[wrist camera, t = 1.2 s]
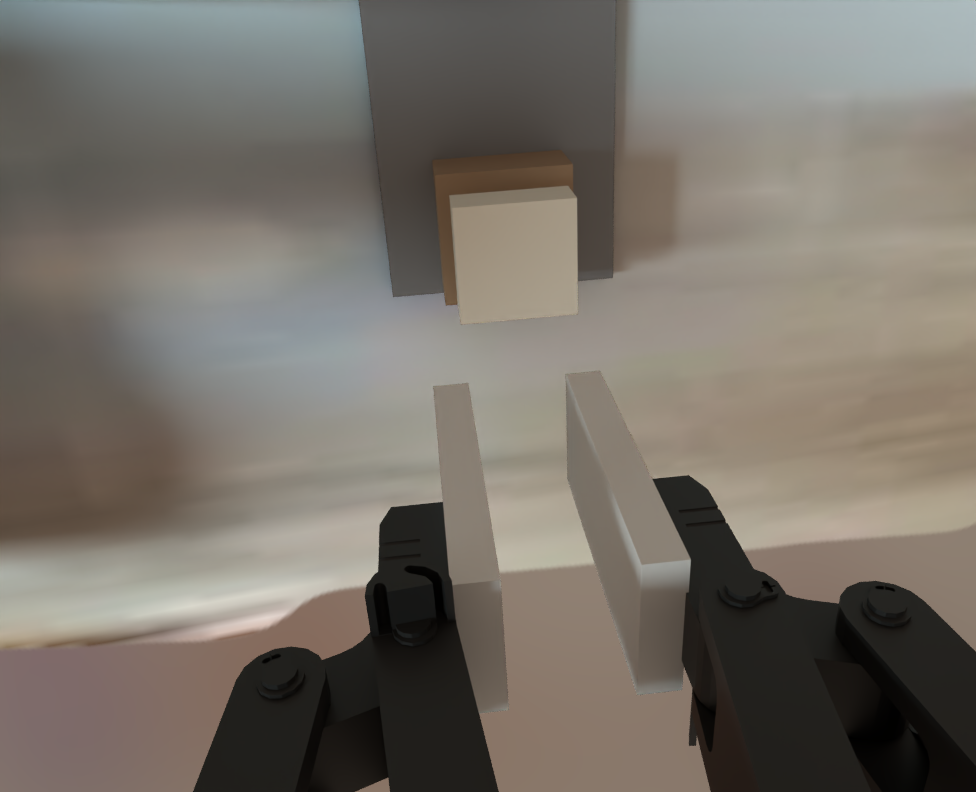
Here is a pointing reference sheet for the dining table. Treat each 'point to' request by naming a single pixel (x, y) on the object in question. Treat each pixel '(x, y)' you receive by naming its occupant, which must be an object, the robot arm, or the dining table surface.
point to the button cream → (515, 254)
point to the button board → (488, 120)
